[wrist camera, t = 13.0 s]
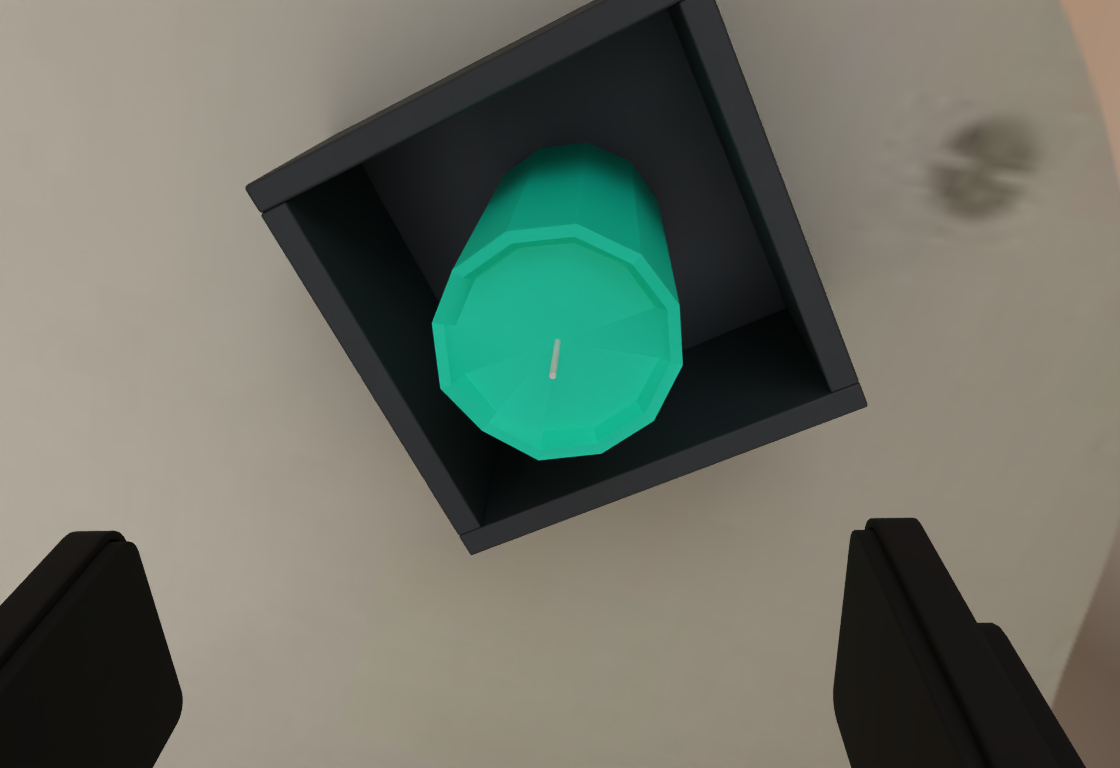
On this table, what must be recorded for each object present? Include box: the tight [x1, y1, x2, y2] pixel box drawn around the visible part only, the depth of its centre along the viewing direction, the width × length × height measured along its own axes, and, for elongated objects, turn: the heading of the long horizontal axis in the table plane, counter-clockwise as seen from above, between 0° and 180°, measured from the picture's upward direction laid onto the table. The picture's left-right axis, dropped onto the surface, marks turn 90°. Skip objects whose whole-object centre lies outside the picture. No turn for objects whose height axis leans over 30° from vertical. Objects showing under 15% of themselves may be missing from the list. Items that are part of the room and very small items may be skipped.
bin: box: [245, 0, 867, 555], centre depth 27 cm, size 13×13×8 cm
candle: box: [432, 142, 683, 460], centre depth 25 cm, size 6×6×12 cm
